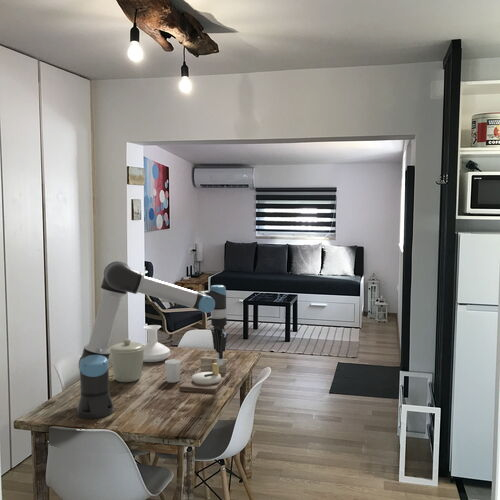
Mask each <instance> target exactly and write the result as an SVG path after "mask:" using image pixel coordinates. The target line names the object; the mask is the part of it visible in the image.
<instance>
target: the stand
mask: <svg viewBox="0 0 500 500" xmlns="http://www.w3.org/2000/svg"><path fill="white" fill-rule="evenodd" d="M213 363H217V357H202V356H201V357H200V369H197V370H196V371H195V372H194V373H193V374H192V375H191V376H190V377H188V378H187V379H185V381H184V382H182V383H181V384H180V385H179V389H178V390H179V391H183V392H192V393H193V392H194V393H203V394H204V393H206V394H207V393H208V394H216V393H217V392H218V391H219V390H220V389H221V387H223V385H225V383H226V382H227V381H228V380H229V379H230V378H231V376H232V372H231V371H228V359H227V358H223V365H219V374H220V375H221V381H220V382H218V383H215V384H210V385H201V384H196V383H194V382H193V381H192V376H193V375H194V374H197V373H201V372H213V366H212V364H213Z"/></svg>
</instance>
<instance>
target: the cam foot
mask: <svg viewBox="0 0 500 500" xmlns="http://www.w3.org/2000/svg"><path fill="white" fill-rule="evenodd" d="M212 366H213V372H201V373H197V374H194V373H193V374H194V375H193V374H192V375H193V376H192V375H191V376H192V381H193V382H194V383H196V384H201V385H210V384H215V383H218V382H220V381H221V375H220V374H219V366H218V365H217V363H213V364H212Z"/></svg>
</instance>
